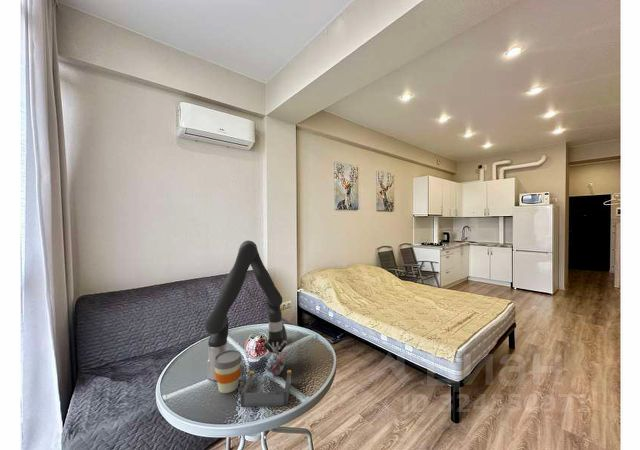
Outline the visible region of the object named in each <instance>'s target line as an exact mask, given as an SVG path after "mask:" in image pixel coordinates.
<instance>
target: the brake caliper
mask: <svg viewBox="0 0 640 450" xmlns="http://www.w3.org/2000/svg"><path fill="white" fill-rule="evenodd" d="M285 355H286V352H284V353H283V354H282V355H281V356H280V355H279V356H278V355H277V354H276V353H272V352H271V356H270V357H268V362H265V365H266V370H267V371H268V372H269V373H271V374H273V375H274V376H279V375H280V374H281V372H282V371H283V369H284V367H285V364H286V362H285V361H282V359H283V357H284V356H285Z"/></svg>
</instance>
